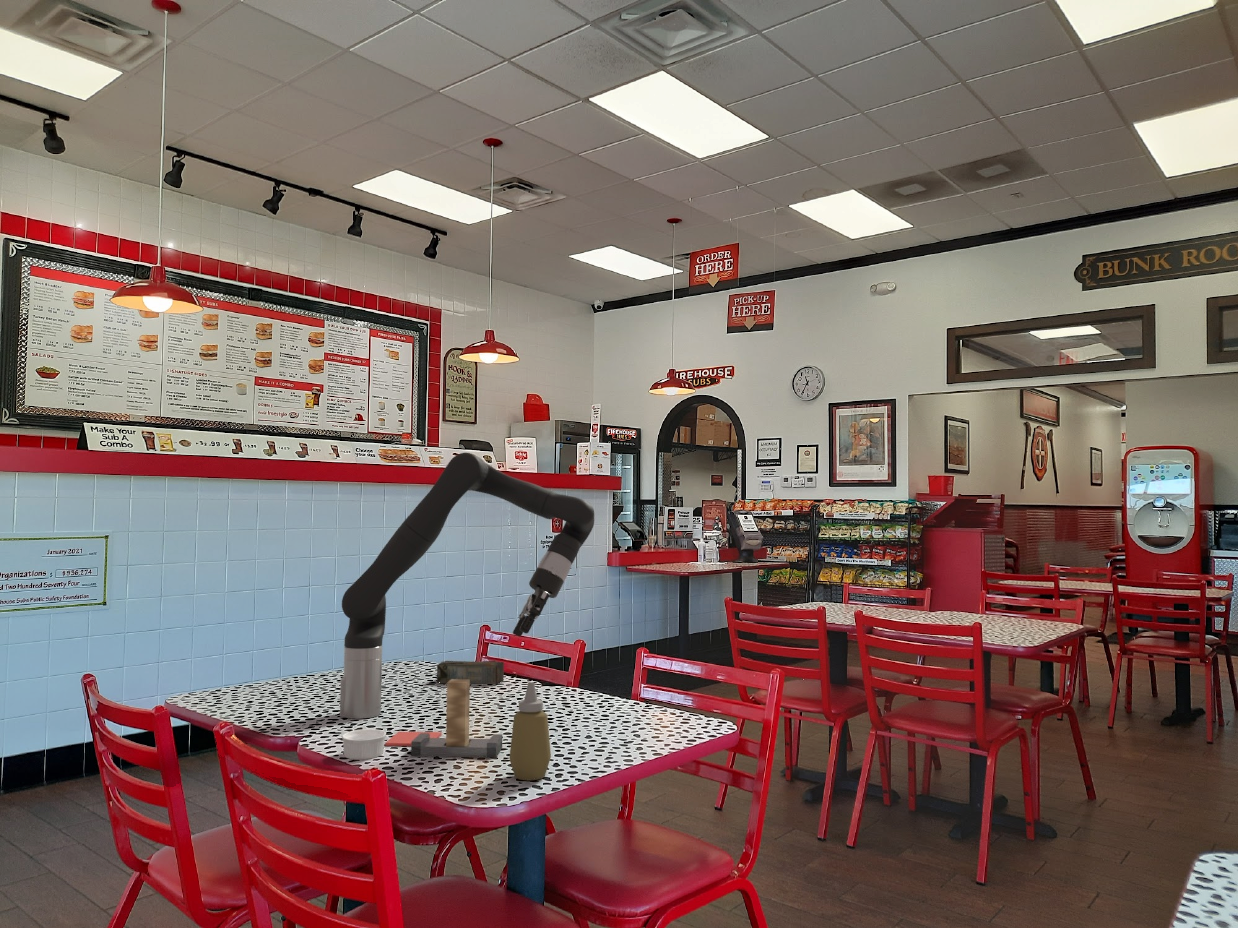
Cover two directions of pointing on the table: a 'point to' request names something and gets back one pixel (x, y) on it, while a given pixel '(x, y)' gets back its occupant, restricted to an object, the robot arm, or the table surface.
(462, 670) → the beverage carton
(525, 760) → the squeeze bottle
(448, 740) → the oak peg
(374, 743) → the ramekin
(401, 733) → the red coaster
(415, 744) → the grey piece
